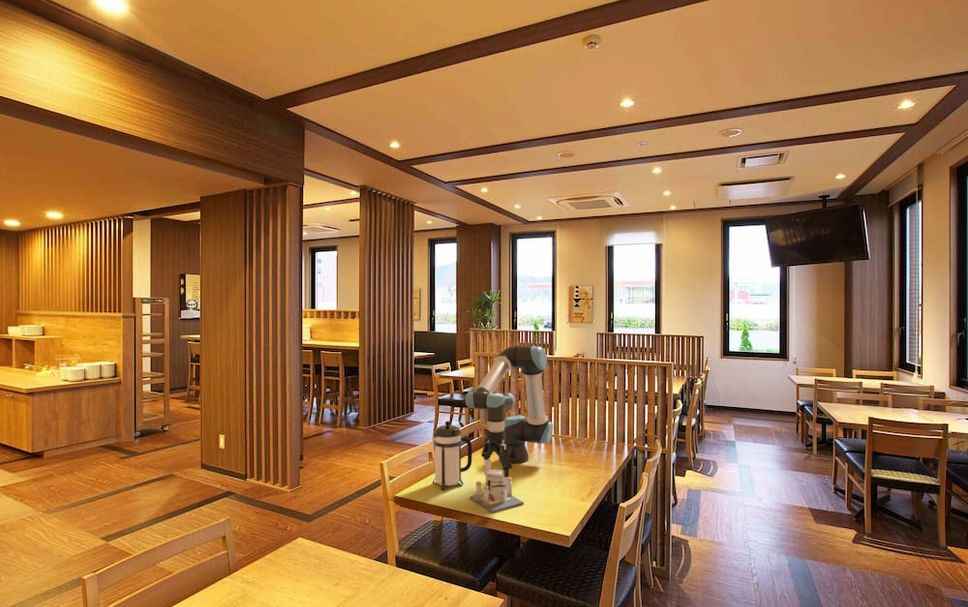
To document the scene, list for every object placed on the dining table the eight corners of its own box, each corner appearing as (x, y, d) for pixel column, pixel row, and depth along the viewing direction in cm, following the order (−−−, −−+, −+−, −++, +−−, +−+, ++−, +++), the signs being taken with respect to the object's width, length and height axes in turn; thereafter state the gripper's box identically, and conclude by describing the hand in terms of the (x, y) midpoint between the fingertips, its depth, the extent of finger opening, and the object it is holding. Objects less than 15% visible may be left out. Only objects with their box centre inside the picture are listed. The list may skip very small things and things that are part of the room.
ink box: (485, 500, 209) (485, 472, 209) (488, 495, 214) (488, 468, 214) (504, 502, 207) (504, 474, 207) (507, 497, 211) (507, 470, 211)
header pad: (469, 498, 214) (469, 478, 214) (500, 490, 222) (499, 471, 222) (491, 513, 198) (491, 491, 198) (523, 504, 207) (523, 483, 207)
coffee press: (458, 492, 220) (457, 426, 220) (426, 488, 226) (426, 423, 226) (472, 479, 237) (472, 417, 237) (442, 475, 242) (442, 415, 242)
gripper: (473, 425, 219) (474, 471, 219) (505, 438, 198) (505, 490, 198) (487, 422, 223) (488, 468, 223) (519, 435, 202) (520, 486, 202)
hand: (496, 479), depth 211 cm, fingers open, 13 cm apart
